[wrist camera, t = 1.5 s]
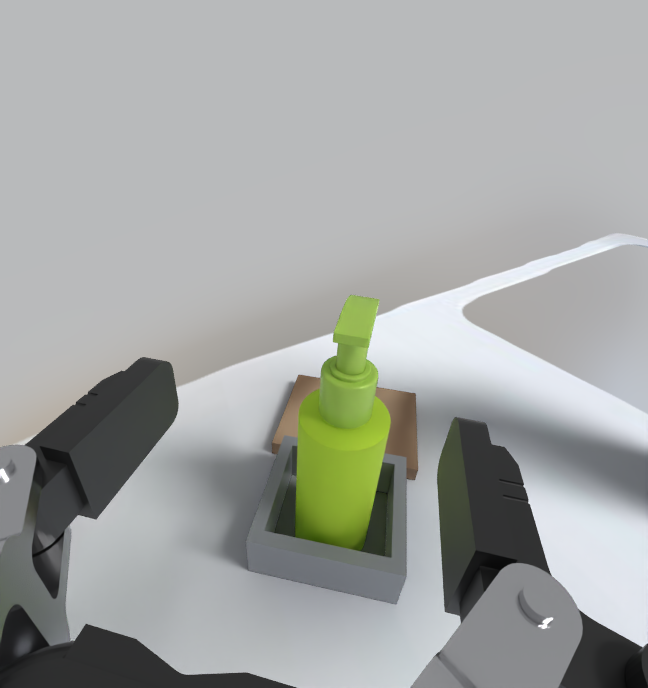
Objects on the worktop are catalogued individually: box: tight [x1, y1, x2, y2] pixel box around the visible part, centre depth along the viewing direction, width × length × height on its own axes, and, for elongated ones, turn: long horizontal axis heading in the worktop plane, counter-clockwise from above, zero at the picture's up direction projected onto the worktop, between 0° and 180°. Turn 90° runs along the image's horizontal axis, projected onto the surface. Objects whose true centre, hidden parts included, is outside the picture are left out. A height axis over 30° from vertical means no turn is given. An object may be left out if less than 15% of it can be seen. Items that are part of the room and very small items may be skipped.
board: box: [272, 375, 418, 480], centre depth 41 cm, size 14×11×2 cm
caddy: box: [246, 435, 406, 604], centre depth 31 cm, size 11×10×4 cm
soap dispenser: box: [295, 295, 391, 551], centre depth 26 cm, size 6×7×20 cm
